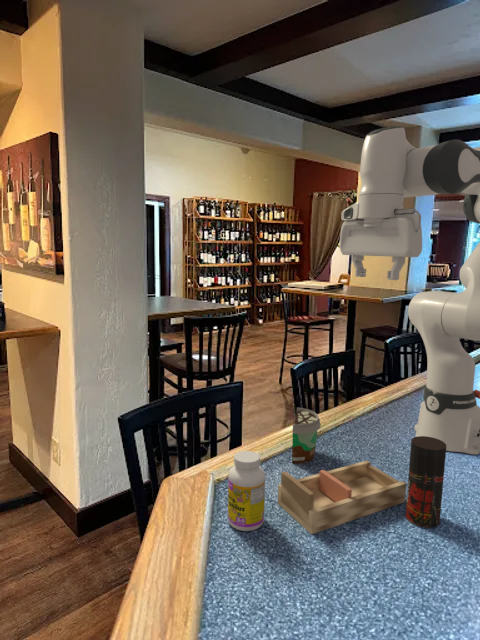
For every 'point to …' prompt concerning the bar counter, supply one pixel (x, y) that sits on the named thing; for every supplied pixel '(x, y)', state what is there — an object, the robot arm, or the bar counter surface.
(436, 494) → the deodorant
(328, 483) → the plate
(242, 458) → the supplement bottle
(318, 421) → the food container
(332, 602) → the bar counter surface
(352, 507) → the tray
